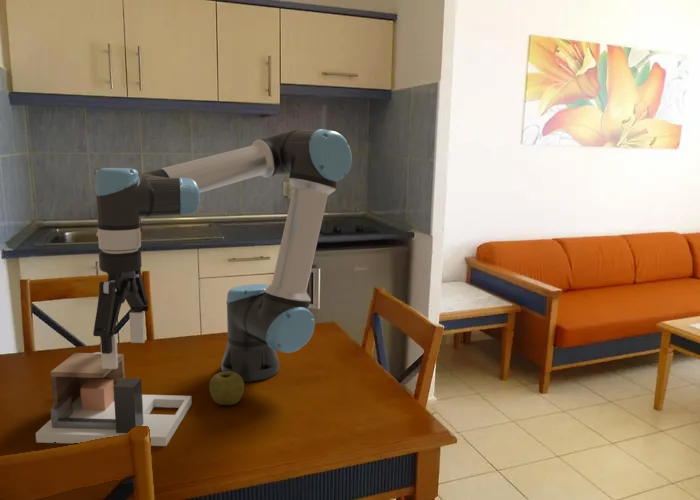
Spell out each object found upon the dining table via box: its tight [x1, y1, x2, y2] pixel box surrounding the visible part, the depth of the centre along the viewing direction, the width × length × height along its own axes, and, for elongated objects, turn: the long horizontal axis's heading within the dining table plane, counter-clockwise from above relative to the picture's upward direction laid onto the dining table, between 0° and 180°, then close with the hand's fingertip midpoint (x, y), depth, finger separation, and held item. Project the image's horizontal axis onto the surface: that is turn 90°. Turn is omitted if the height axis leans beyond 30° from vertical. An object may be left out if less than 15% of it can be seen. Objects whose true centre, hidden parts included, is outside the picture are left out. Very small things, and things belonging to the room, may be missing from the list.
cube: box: [81, 379, 114, 411], centre depth 123 cm, size 5×5×5 cm
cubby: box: [50, 352, 126, 408], centre depth 122 cm, size 11×10×10 cm
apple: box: [208, 371, 245, 406], centre depth 129 cm, size 8×8×7 cm
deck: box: [35, 394, 193, 447], centre depth 120 cm, size 26×18×2 cm
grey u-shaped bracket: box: [50, 377, 143, 433], centre depth 114 cm, size 18×8×10 cm, turn 90°
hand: (124, 354), depth 110 cm, fingers open, 13 cm apart
